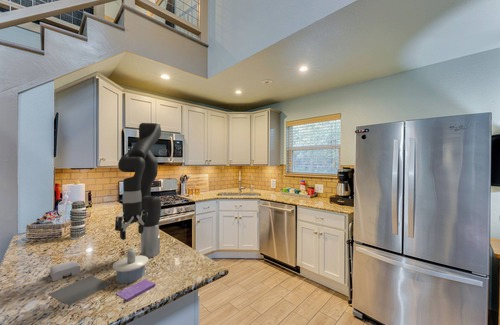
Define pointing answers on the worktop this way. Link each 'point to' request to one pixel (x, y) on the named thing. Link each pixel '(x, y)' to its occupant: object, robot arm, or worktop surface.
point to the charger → (64, 270)
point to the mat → (79, 290)
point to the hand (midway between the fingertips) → (132, 236)
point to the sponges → (136, 290)
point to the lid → (130, 262)
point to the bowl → (130, 275)
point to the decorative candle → (77, 220)
